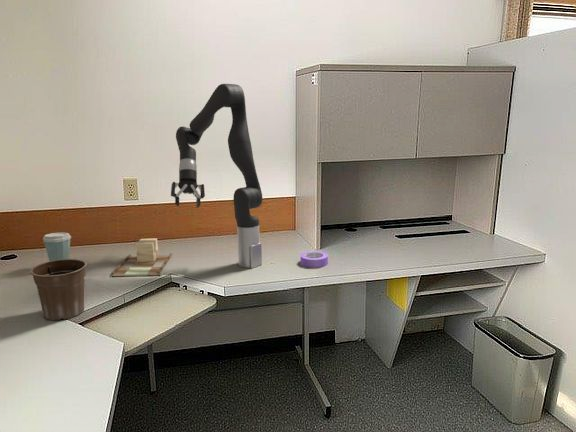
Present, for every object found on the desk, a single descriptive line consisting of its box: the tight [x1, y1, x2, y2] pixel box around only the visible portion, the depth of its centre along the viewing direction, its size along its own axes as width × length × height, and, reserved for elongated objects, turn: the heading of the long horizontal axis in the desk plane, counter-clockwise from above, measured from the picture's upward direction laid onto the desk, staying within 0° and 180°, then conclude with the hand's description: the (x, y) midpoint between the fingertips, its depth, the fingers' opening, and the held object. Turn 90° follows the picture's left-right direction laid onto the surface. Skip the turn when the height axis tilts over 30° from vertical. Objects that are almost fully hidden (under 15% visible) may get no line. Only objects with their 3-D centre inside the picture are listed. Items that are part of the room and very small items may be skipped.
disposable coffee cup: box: [42, 232, 72, 262], centre depth 195 cm, size 11×11×15 cm
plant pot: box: [30, 258, 87, 321], centre depth 151 cm, size 16×16×16 cm
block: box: [135, 237, 159, 262], centre depth 201 cm, size 8×7×8 cm
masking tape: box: [300, 250, 329, 269], centre depth 197 cm, size 12×12×4 cm
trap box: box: [111, 253, 173, 278], centre depth 195 cm, size 23×19×2 cm
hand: (187, 206), depth 199 cm, fingers open, 8 cm apart
